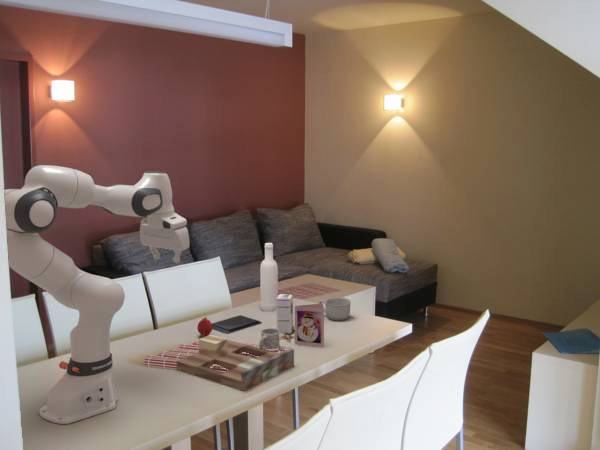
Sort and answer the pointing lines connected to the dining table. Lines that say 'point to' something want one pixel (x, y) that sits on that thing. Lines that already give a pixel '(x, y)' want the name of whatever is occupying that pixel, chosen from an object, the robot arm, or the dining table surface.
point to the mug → (269, 339)
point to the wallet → (234, 324)
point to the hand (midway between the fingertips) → (166, 260)
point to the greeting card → (309, 325)
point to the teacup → (337, 308)
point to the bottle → (268, 280)
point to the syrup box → (285, 313)
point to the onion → (204, 327)
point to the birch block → (213, 346)
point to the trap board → (238, 365)
